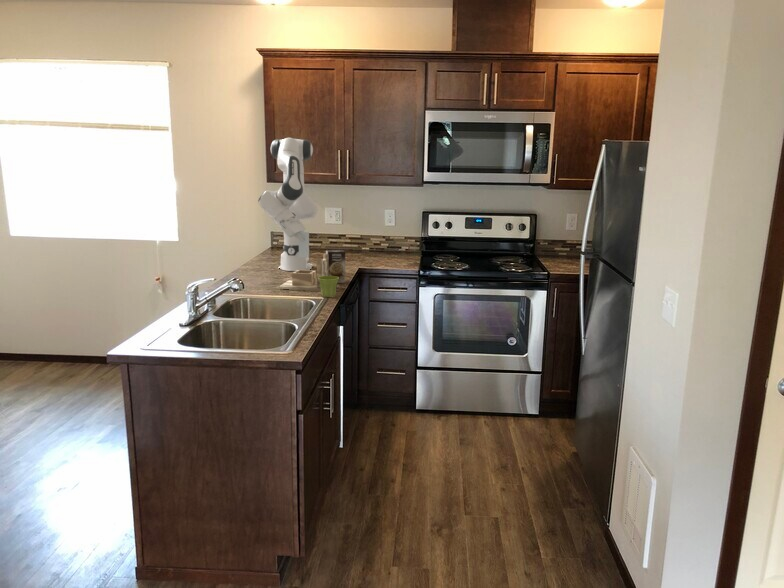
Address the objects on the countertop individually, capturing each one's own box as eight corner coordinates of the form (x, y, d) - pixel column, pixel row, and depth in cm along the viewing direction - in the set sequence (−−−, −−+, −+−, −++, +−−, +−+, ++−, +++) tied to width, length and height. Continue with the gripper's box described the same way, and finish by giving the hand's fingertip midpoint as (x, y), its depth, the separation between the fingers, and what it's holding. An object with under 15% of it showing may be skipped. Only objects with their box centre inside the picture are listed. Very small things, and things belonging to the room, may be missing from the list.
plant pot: (325, 299, 276) (325, 280, 274) (314, 295, 283) (314, 277, 281) (342, 296, 282) (342, 278, 280) (331, 293, 289) (331, 274, 287)
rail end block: (301, 255, 300) (300, 231, 297) (309, 256, 299) (308, 231, 296) (298, 257, 296) (298, 232, 293) (306, 257, 295) (306, 232, 293)
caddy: (289, 282, 310) (288, 252, 306) (328, 284, 307) (328, 253, 304) (279, 289, 294) (278, 257, 291) (321, 291, 292) (321, 259, 288)
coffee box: (327, 283, 310) (327, 251, 306) (325, 281, 316) (325, 249, 312) (345, 282, 312) (345, 251, 309) (342, 280, 318) (343, 249, 315)
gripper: (283, 216, 284) (303, 238, 285) (295, 213, 304) (314, 233, 305) (273, 226, 285) (294, 248, 286) (286, 221, 305) (306, 242, 306)
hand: (305, 240), depth 296 cm, fingers closed on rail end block, 4 cm apart
